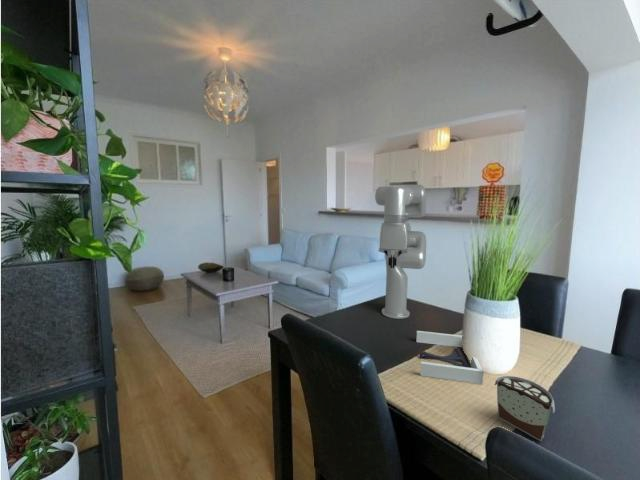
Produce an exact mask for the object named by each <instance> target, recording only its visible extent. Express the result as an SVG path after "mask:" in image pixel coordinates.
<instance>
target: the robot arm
mask: <svg viewBox="0 0 640 480" xmlns="http://www.w3.org/2000/svg"><path fill="white" fill-rule="evenodd" d="M374 198H375V199H374V200H375V202H376V204H377V205H378V206H382V207H383V222H381V226H380V232H379V248H378V253H382V254H384V258H385V259H384V260H385V267H386V268H385V269H386V277H385V278H386V279H385V300H384V301H385V302H384V303H385V306H384V307H383V308H382V309H381V314H382V315H383V316H385V317H387V318H389V319H390V318H391V319H397V320H399V319H400V320H401V319H406V318H409V317H410V311H409V310H408V309H407V301H408V283H409V281H408V280H409V279H408V275H407V273H406V272H405V270H404V269H411V270H421V269H423V268H424V267H425V265H426V258H427V257H426V256H427V237H426V234H425V233H424V232H422V231H420V230H417V231H416V230H412V227H411V225H410V223H409V222H408V221H409V218H413V219H414V218H418V219H419V218H423V217H425V214H426V211H427V190H426V188H425V186H424V185H422V184H397V185H395V184H393V185H388V186H386V185H385V186H384V185H383V186H379V187H378V188H376V190H375V193H374Z"/></svg>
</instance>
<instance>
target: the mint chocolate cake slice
mask: <svg viewBox="0 0 640 480" xmlns="http://www.w3.org/2000/svg"><path fill="white" fill-rule="evenodd" d="M494 386H496V390H497V391H496V392H497V393H496V394H497V395H496V398H497V404H496V405H497V418H498V419H500V420H502V421H504V422H505V423H507V424H510V425H511V426H512V427H515V428H516V429H518V430H520V431H521V432H523V433H525V434H526V435H528V436H530V437H531V438H534V439H536V440H537V441H539V442H541V443H542V442H543V441H544V437H545V433H546V430H547V426H548V422H549V418H550V415H551V411H552V414H554V413H555V412H556V406H555V400H554V397H553V396H552V394H551V393H550V392H549V391H548V390H547V389H546V388H545V387H543V386H542V385H540V384H538V383H536V382H534V381H531V380H530V379H526V378H523V377H520V376H511V375H502V376H499V377H497V379H496V380H495V383H494Z"/></svg>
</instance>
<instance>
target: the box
mask: <svg viewBox="0 0 640 480" xmlns="http://www.w3.org/2000/svg"><path fill="white" fill-rule="evenodd" d="M462 336H463V335H459V334H450V333H442V332H432V331H423V330H416V343H420V344H421V343H422V344H429V345H430V344H431V345H438V346H445V347H455V348H462V349H463V345H462ZM467 362H468V364H469V366H470V368H467V367H460V366H456V365H453V364H443V363H435V362H430V361H429V362H428V361H422V360H421V361H420V373H419V374H420V375H419V376H421V377H422V376H423V377H427V378H436V379H441V380H449V381H455V382H463V383H469V384H470V383H471V384H475V385H476V384H477V385H483V381H484V370H483V368H482V366H481V364H480V361H479V360H478V357H477V358H475V357H473V356H472V360H471V363H470V360H468V359H467Z"/></svg>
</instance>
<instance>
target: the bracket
mask: <svg viewBox="0 0 640 480" xmlns="http://www.w3.org/2000/svg"><path fill="white" fill-rule="evenodd" d="M419 359H420V360H421V359H422V360H433V361H441V362H446V363H449V364H450V365H453V366H460V367H467V368H471V366H470V364H469V362H468V360H467V358H465V356H464V354H463V353H462V351H461V349H460V347H455V348H454V350H453V351H452V353H450V354H448V355H444V356H441V355H438V354H437V355H436V354H433V353H430V352H427V351H424V350H423V351H420V352H419Z"/></svg>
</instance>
